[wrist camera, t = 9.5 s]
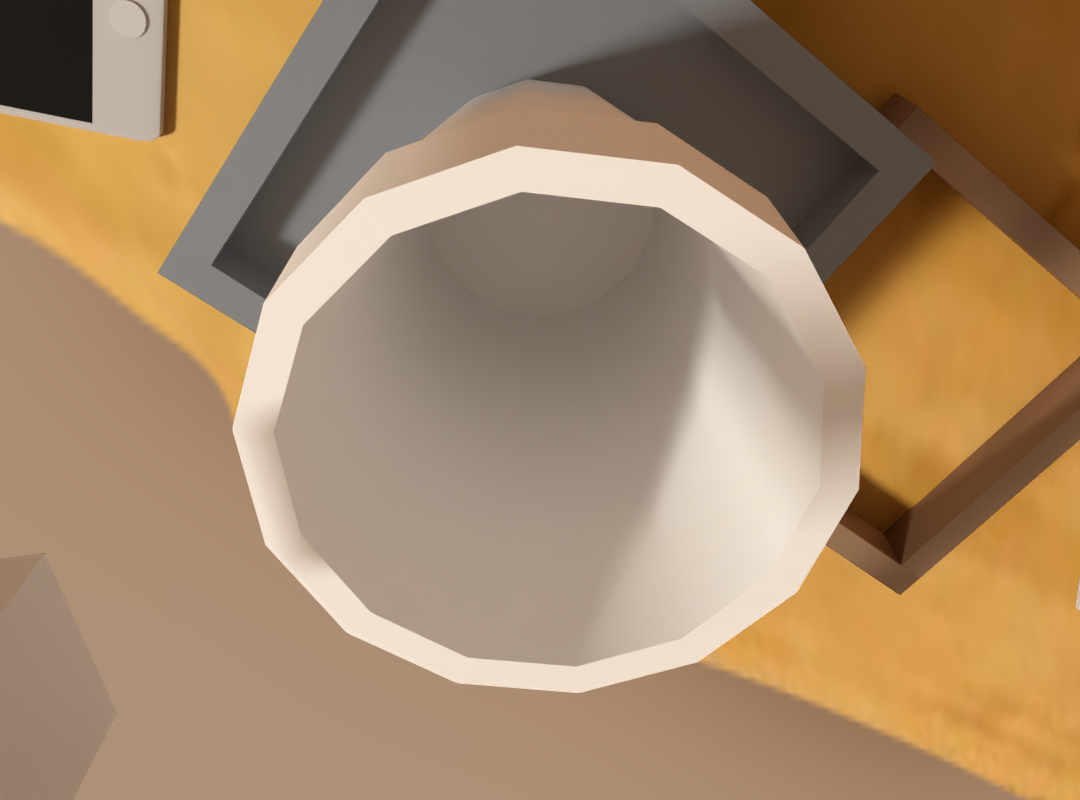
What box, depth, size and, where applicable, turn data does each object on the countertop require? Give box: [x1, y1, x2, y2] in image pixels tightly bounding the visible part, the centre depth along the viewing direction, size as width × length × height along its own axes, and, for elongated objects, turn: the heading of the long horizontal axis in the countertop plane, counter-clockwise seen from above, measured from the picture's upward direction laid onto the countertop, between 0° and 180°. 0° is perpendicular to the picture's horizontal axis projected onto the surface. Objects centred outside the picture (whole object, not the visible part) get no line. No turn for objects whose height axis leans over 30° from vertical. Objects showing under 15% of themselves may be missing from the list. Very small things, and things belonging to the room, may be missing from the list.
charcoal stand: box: [158, 0, 937, 333], centre depth 28 cm, size 14×14×8 cm
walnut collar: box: [826, 93, 1080, 595], centre depth 35 cm, size 13×13×2 cm
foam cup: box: [232, 79, 866, 693], centre depth 21 cm, size 10×9×13 cm
